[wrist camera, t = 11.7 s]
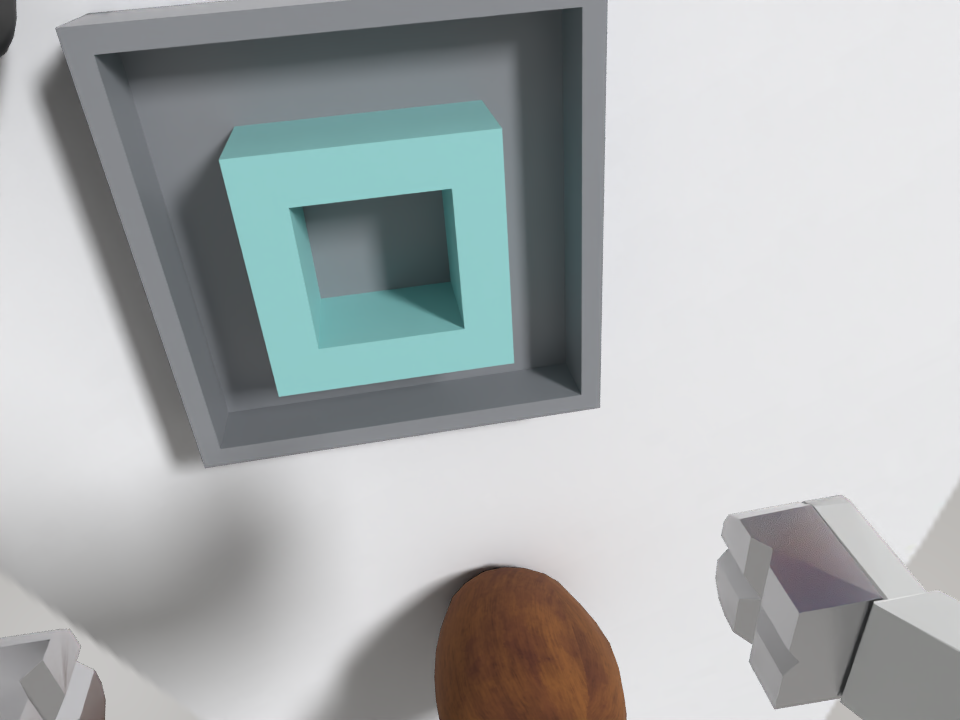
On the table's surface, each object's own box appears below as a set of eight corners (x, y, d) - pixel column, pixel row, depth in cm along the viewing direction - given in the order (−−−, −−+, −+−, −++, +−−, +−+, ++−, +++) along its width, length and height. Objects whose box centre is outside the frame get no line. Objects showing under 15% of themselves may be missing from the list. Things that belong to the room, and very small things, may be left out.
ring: (234, 126, 19) (218, 159, 17) (481, 99, 20) (502, 128, 18) (285, 342, 23) (278, 396, 20) (495, 313, 23) (514, 362, 21)
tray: (88, 13, 18) (55, 27, 16) (578, -33, 19) (607, -24, 17) (216, 419, 25) (205, 467, 22) (578, 366, 26) (599, 407, 24)
